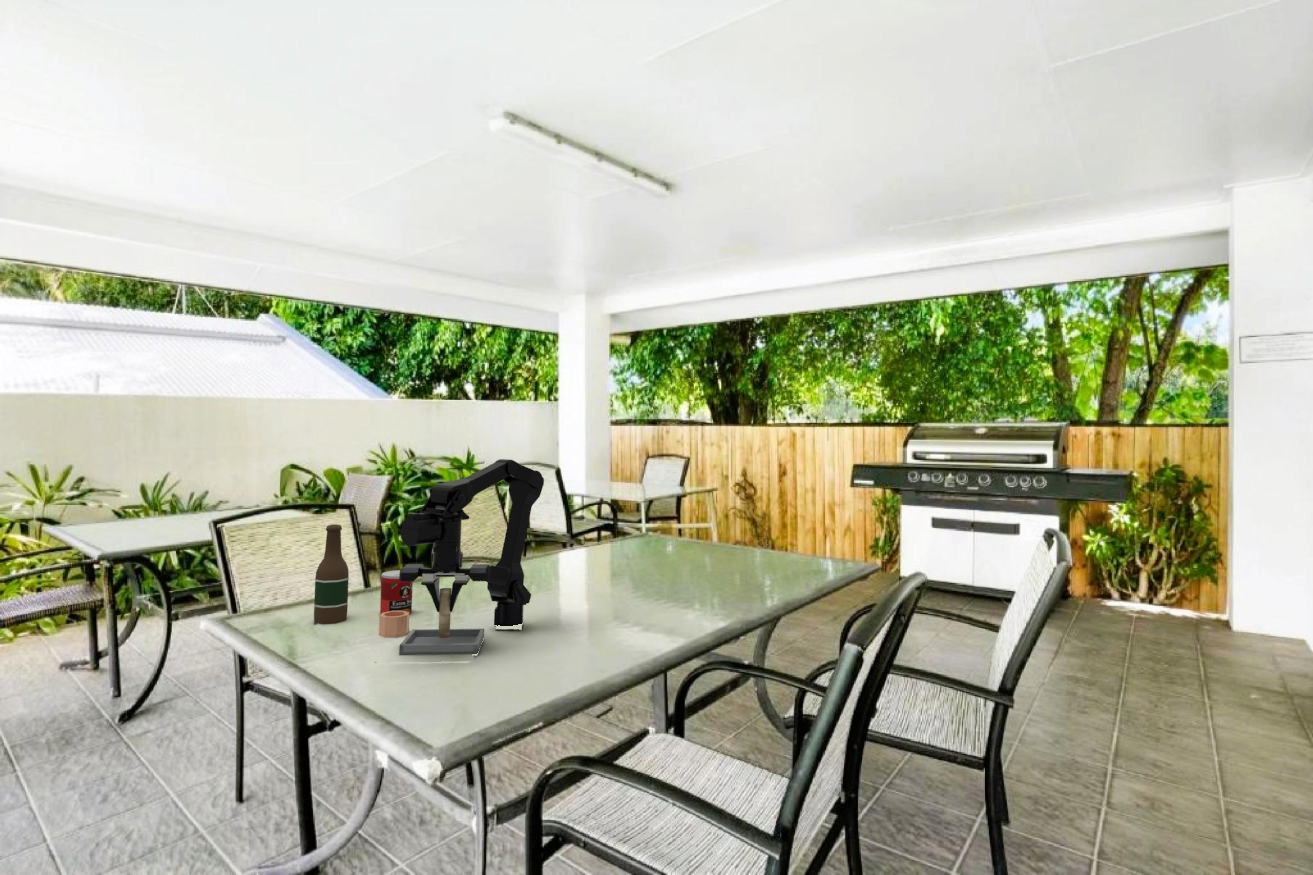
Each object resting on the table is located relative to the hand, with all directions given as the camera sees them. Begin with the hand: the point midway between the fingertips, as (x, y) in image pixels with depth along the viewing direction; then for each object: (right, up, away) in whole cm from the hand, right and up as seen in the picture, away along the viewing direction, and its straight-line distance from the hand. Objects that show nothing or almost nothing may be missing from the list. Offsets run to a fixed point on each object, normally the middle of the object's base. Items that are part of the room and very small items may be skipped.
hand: (444, 611), depth 144 cm
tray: (0, -8, 0) cm, 8 cm away
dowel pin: (0, -6, 0) cm, 6 cm away
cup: (-15, -8, +8) cm, 18 cm away
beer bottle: (-34, -7, +17) cm, 39 cm away
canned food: (-21, -8, +25) cm, 34 cm away
